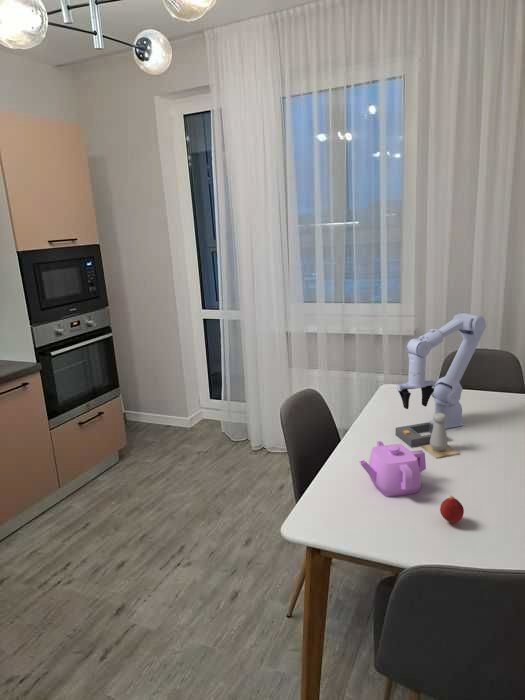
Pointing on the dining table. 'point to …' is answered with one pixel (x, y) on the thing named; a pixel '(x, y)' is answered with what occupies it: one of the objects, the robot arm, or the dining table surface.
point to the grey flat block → (415, 434)
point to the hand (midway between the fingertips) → (415, 406)
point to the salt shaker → (438, 433)
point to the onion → (452, 510)
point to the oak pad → (447, 451)
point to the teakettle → (395, 469)
